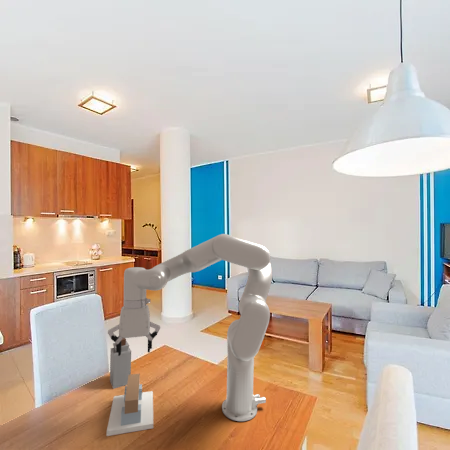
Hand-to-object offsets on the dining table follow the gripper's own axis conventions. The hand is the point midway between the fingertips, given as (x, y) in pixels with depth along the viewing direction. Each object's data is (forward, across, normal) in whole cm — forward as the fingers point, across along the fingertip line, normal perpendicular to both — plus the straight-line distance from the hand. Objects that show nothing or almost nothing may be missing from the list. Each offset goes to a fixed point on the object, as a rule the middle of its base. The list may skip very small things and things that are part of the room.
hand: (134, 352), depth 95 cm
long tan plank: (+16, 0, 0) cm, 16 cm away
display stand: (+21, 0, 0) cm, 21 cm away
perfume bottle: (+21, +6, -21) cm, 31 cm away
